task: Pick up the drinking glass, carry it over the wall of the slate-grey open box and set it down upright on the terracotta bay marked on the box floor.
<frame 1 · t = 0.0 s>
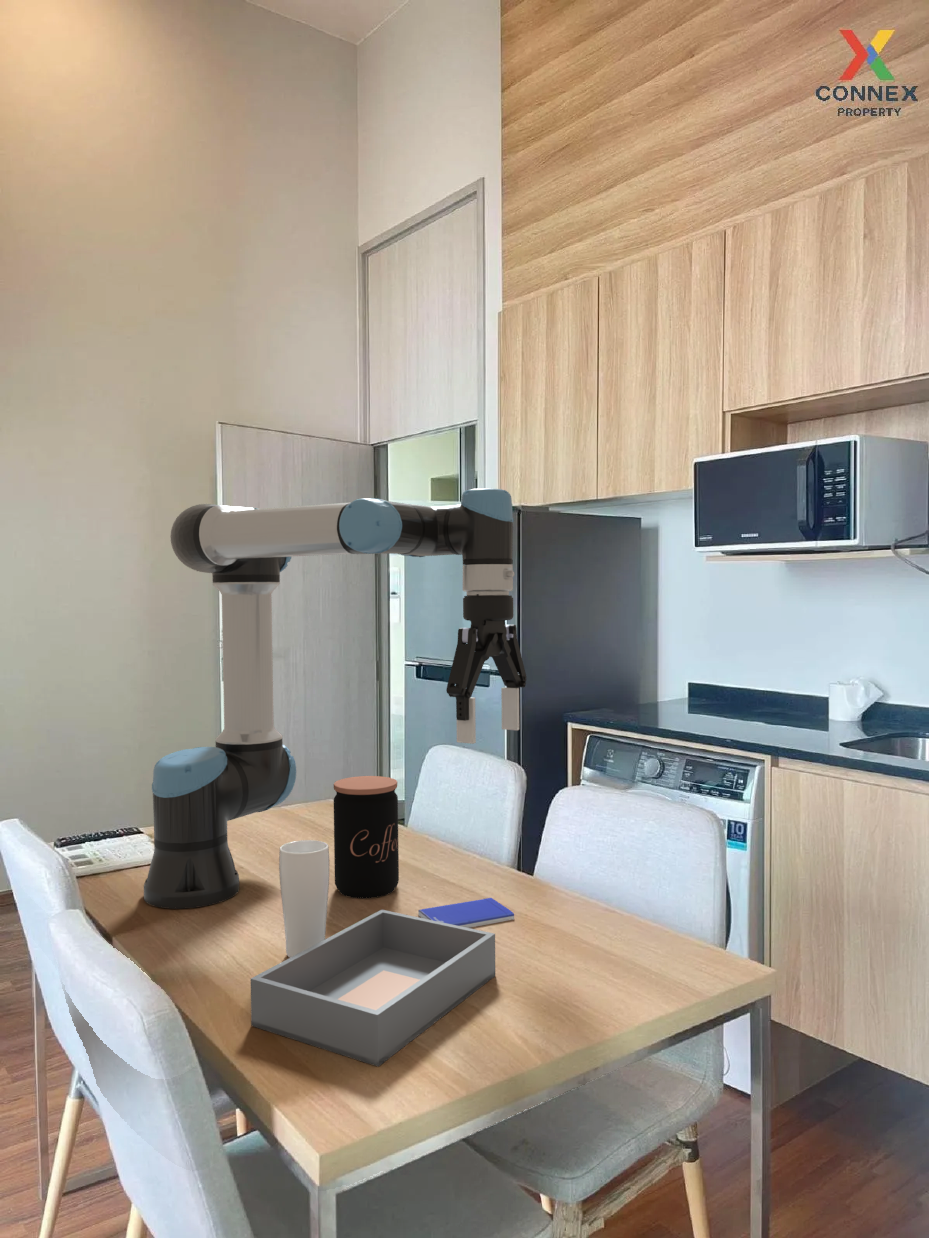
hand: (489, 736, 135), 28 cm above the table, fingers open, 13 cm apart
hard drive: (466, 921, 138), on the table
drinking glass: (305, 955, 124), on the table
coffee jar: (367, 890, 151), on the table
walled box: (380, 999, 110), on the table
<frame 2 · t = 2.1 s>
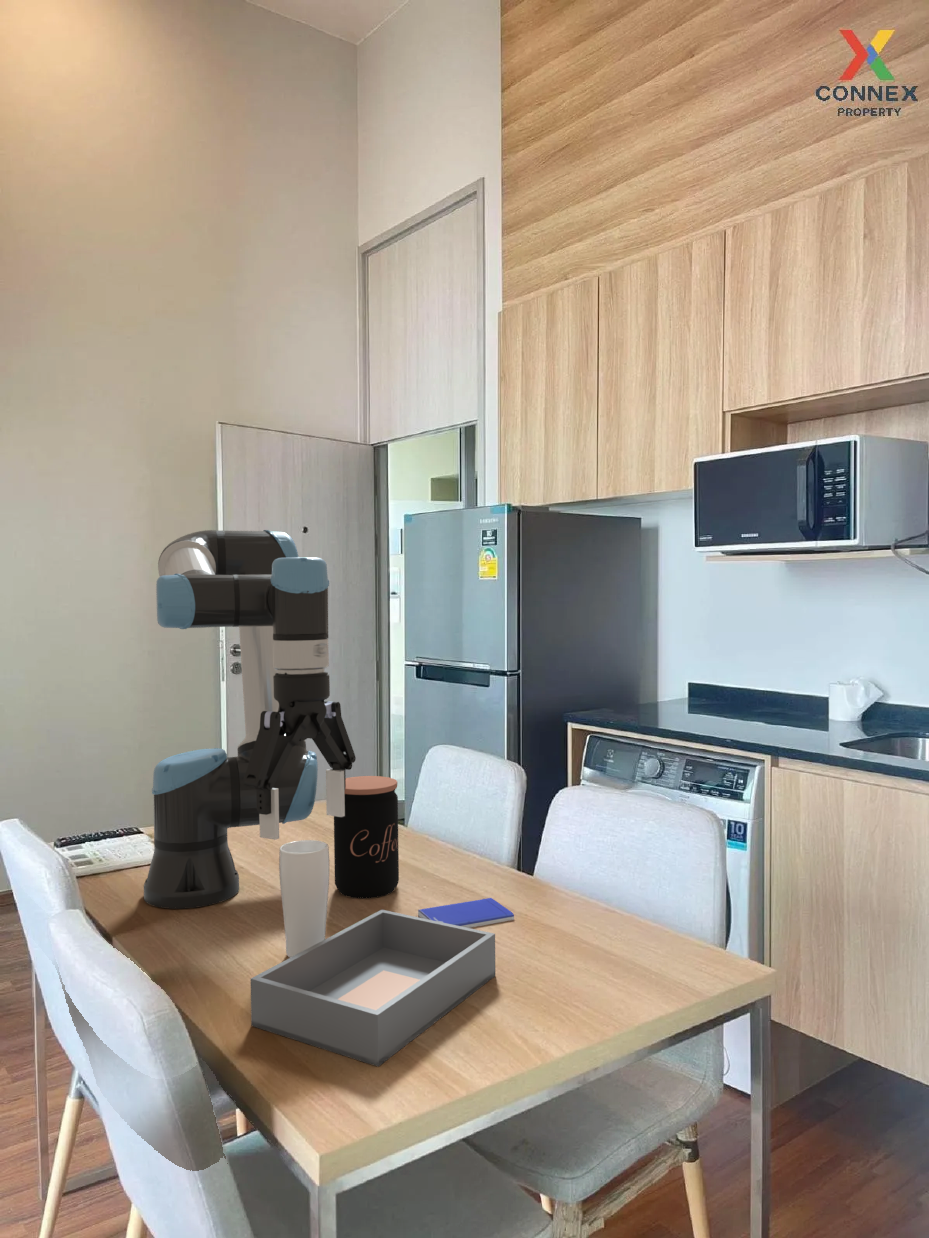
hand: (304, 826, 123), 18 cm above the table, fingers open, 13 cm apart
nothing on the table moved.
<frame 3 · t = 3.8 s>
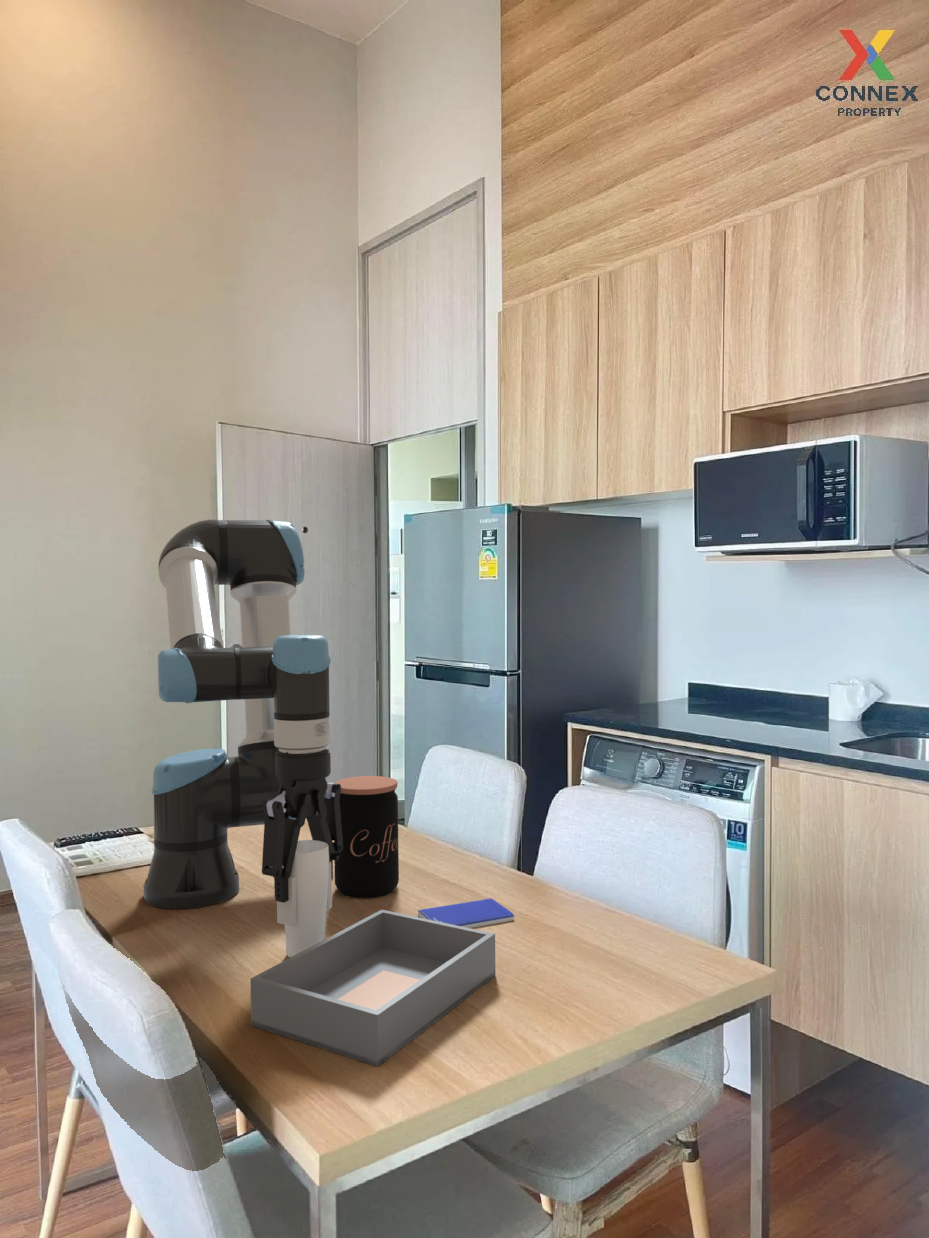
hand: (305, 914, 124), 6 cm above the table, fingers closed on drinking glass, 7 cm apart
drinking glass: (305, 955, 124), on the table, touching gripper
everything else where it was.
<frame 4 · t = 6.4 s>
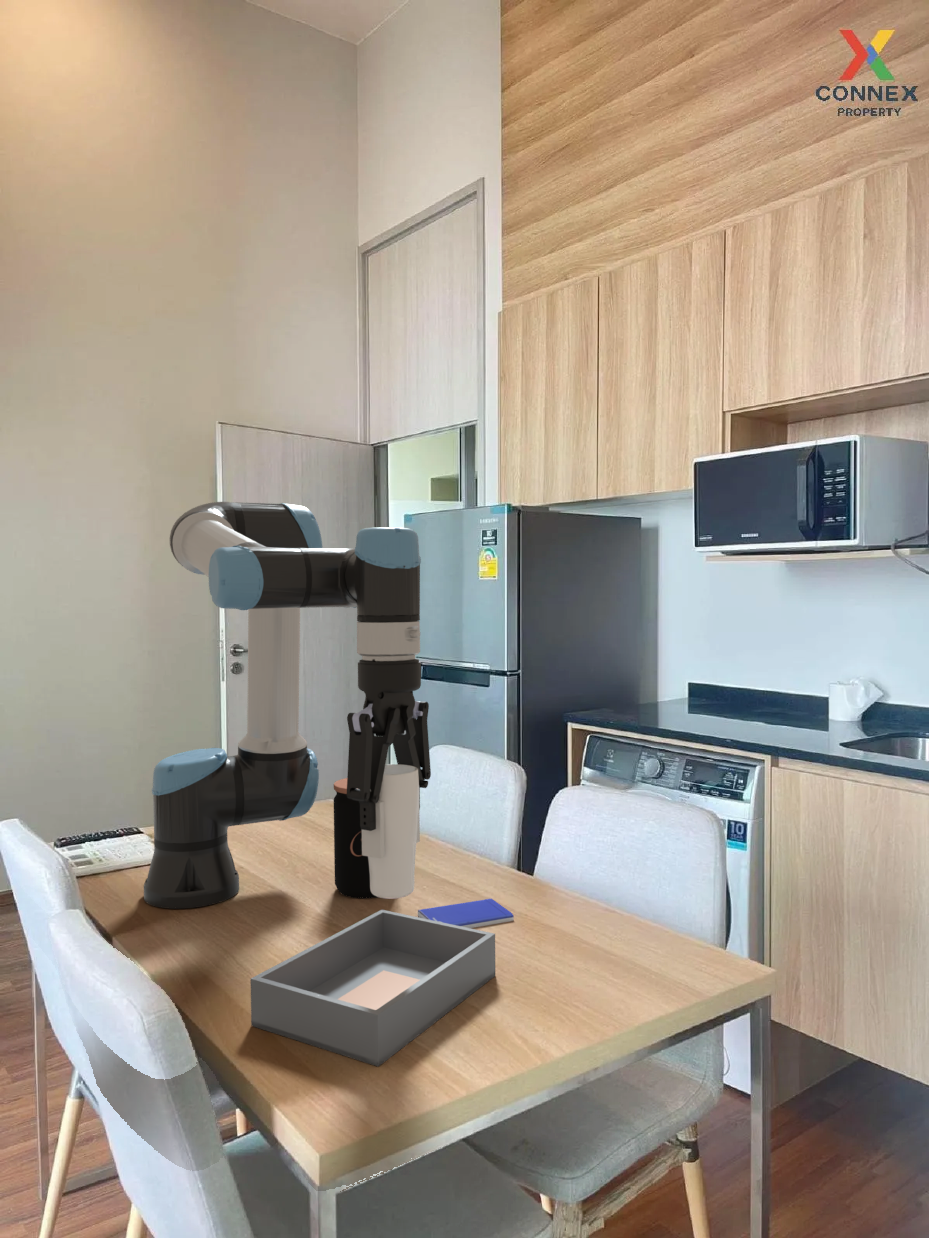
hand: (391, 847, 109), 19 cm above the table, fingers closed on drinking glass, 7 cm apart
drinking glass: (392, 894, 109), point 13 cm above the table, touching gripper
everything else where it was.
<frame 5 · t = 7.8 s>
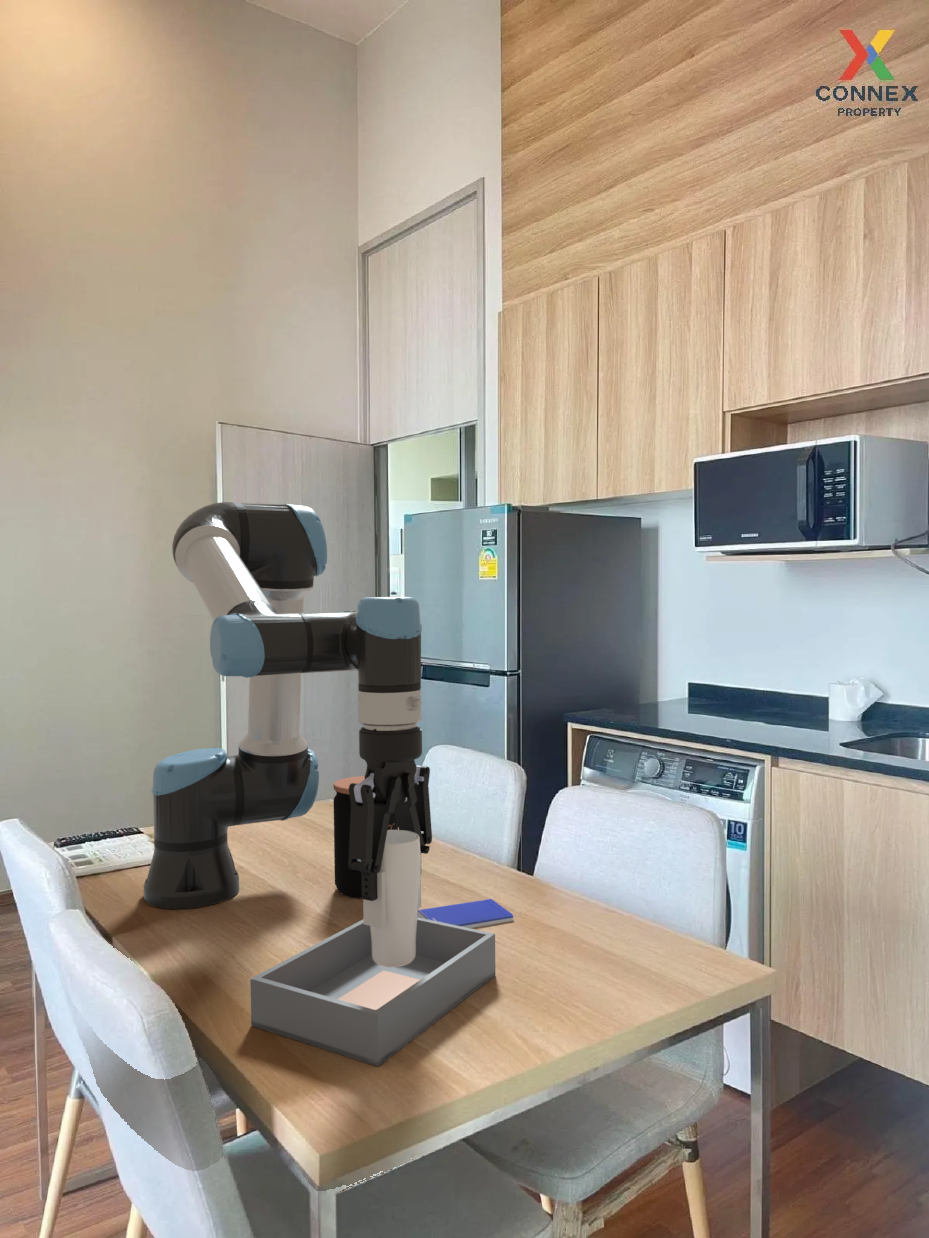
hand: (393, 914, 109), 11 cm above the table, fingers closed on drinking glass, 7 cm apart
drinking glass: (393, 961, 109), point 5 cm above the table, touching gripper
everything else where it was.
when the fingers open (7 cm above the table, at t = 8.9 s): drinking glass stays where it is, resting on walled box.
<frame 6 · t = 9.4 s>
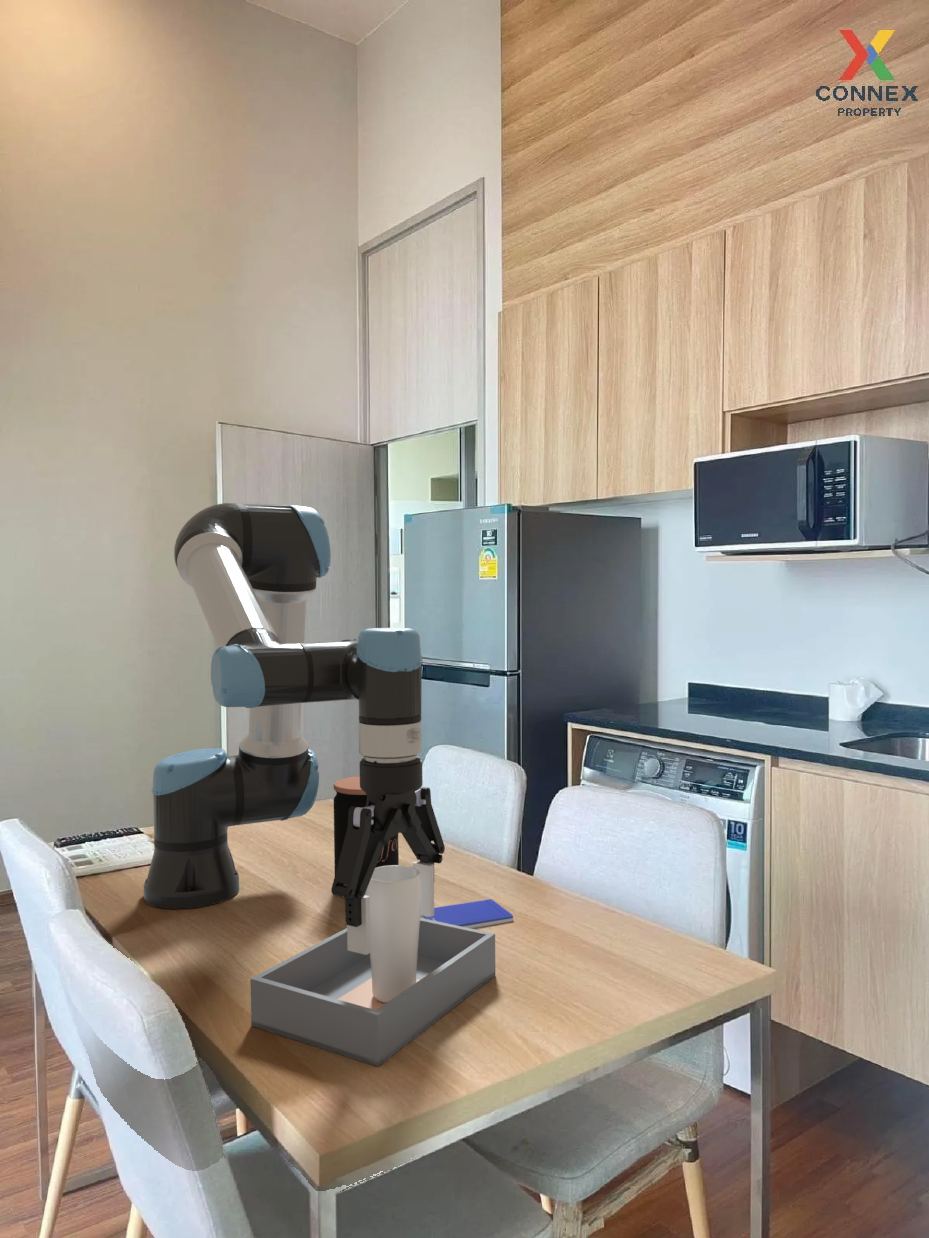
hand: (393, 932, 109), 9 cm above the table, fingers open, 13 cm apart
drinking glass: (394, 997, 109), point 1 cm above the table, touching walled box
everything else where it was.
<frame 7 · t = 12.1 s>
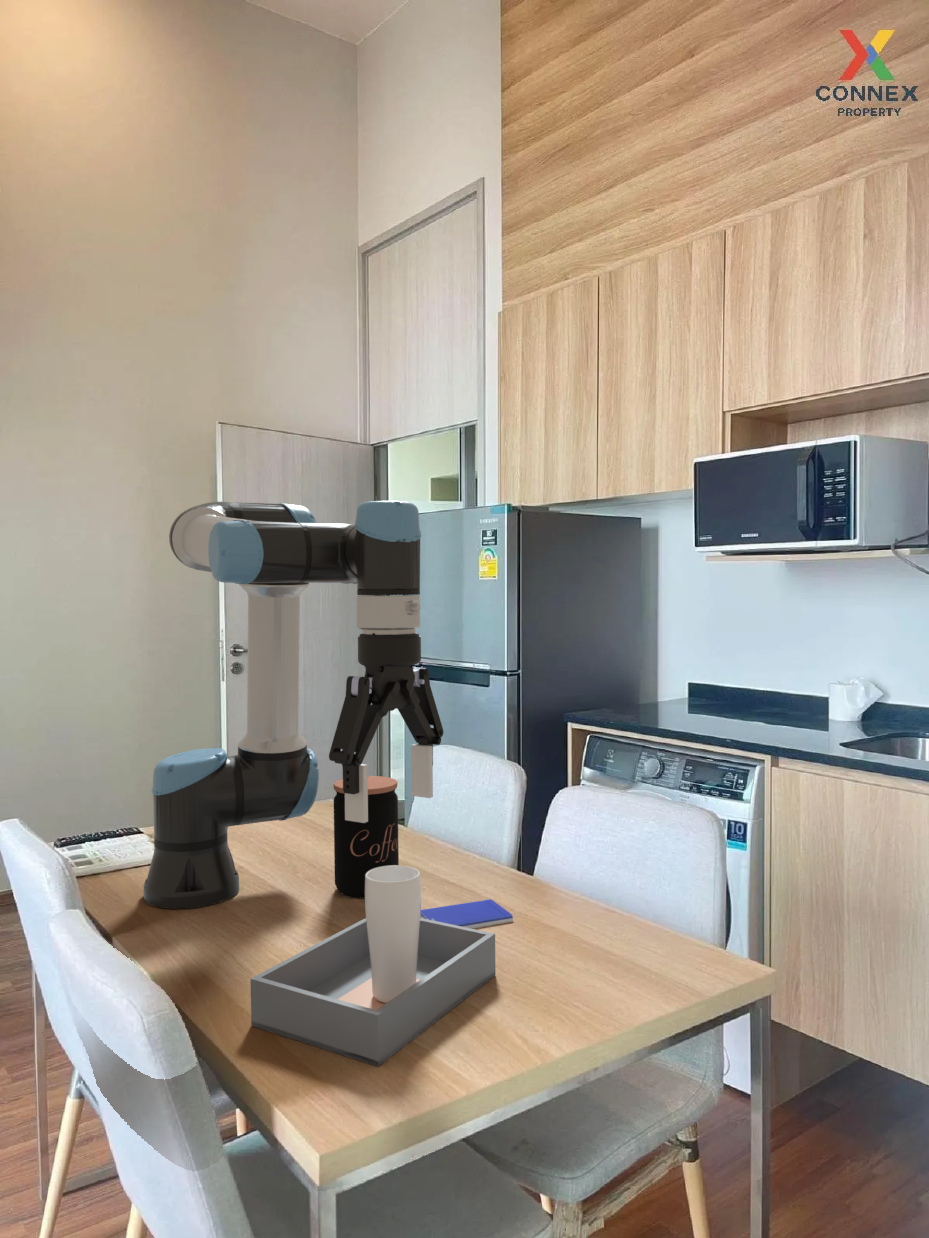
hand: (391, 808, 108), 24 cm above the table, fingers open, 13 cm apart
nothing on the table moved.
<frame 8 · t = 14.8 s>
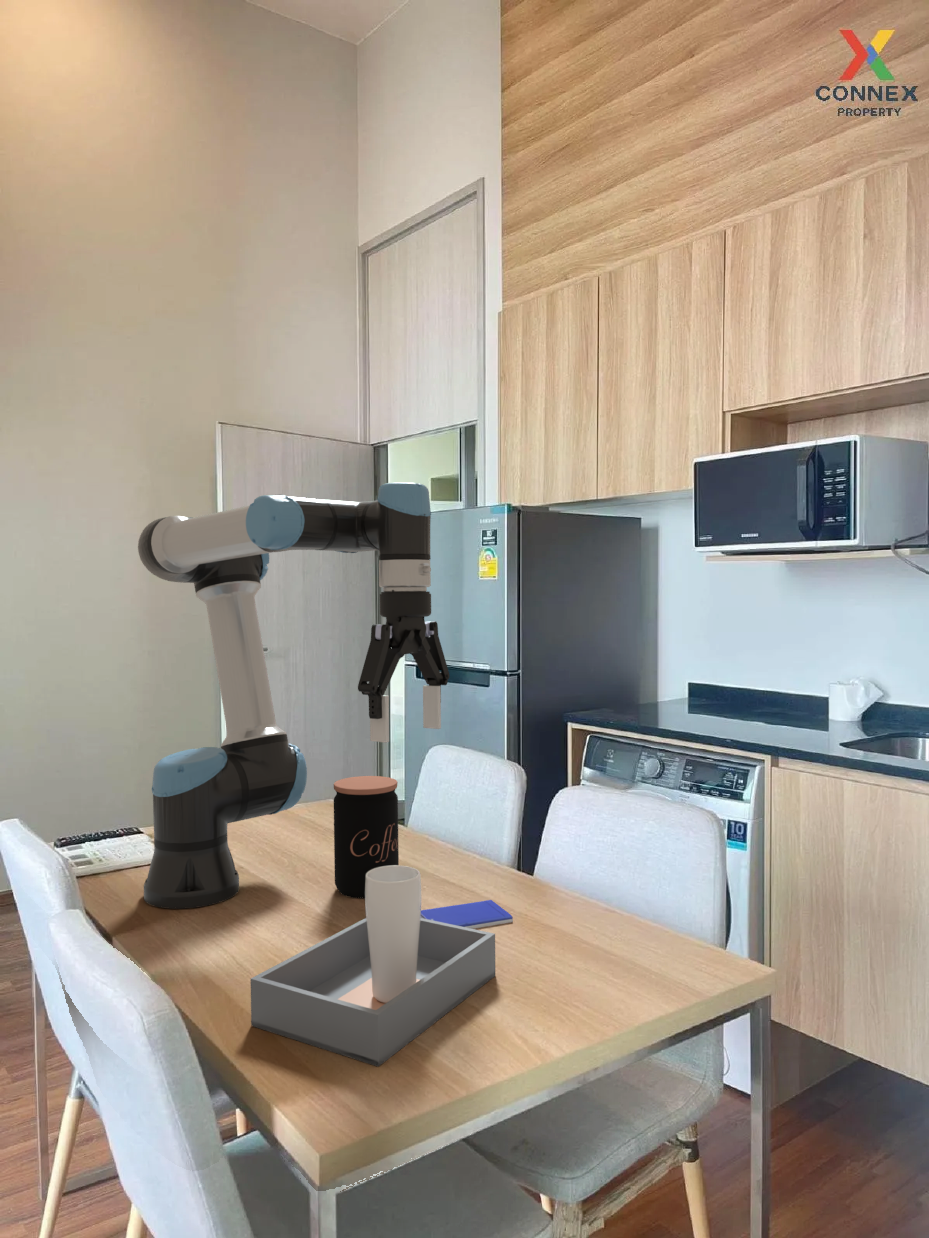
hand: (407, 734, 132), 29 cm above the table, fingers open, 13 cm apart
nothing on the table moved.
at the end: drinking glass inside the target area on the walled box (0.1 cm from its centre), point 0.6 cm above the walled box's base; drinking glass tilted 0°; the gripper is holding nothing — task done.
